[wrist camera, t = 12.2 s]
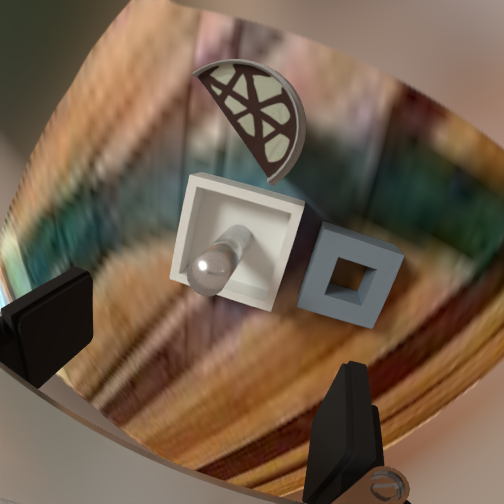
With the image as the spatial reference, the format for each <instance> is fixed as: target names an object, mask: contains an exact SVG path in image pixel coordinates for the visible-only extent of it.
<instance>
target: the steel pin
mask: <svg viewBox="0 0 504 504" xmlns="http://www.w3.org/2000/svg"><path fill="white" fill-rule="evenodd" d="M251 244H252V234H251V232H250V230H249V229H248V228H247V227H245V226H243V225H239V224H236V225H232V226H231V227H229V228H228V229H227V230H226V231H225V232H224V233H223V234H222V235H220V236H219V237H218V238H217V239H216V240H215V241H214V242H213V243H212V244H211V245H210V246H209V247H208V248H207V249H206V250H205V251H203V252H202V253H201V254H200V255H199V256H198V257H197V258H196V259H195V260H194V261H193V262H192V263H191V264H190V265H189V267H188V270H187V280H188V283H189V285H190V286H191V288H192V289H193V290H194V291H195V292H197V293H199V294H201V295H204V296H214V295H216V294H218V293H219V292H221V291H222V289H223V288H224V286H225V285H226V283H227V282H228V280H229V279H230V277H231V275H232V274H233V272H234V271H235V269H236V268H237V266H238V265H239V263H240V261H241V260H242V258H243V257H244V255H245V254H246V252H247V251H248V249H249V247H250V246H251Z"/></svg>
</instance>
